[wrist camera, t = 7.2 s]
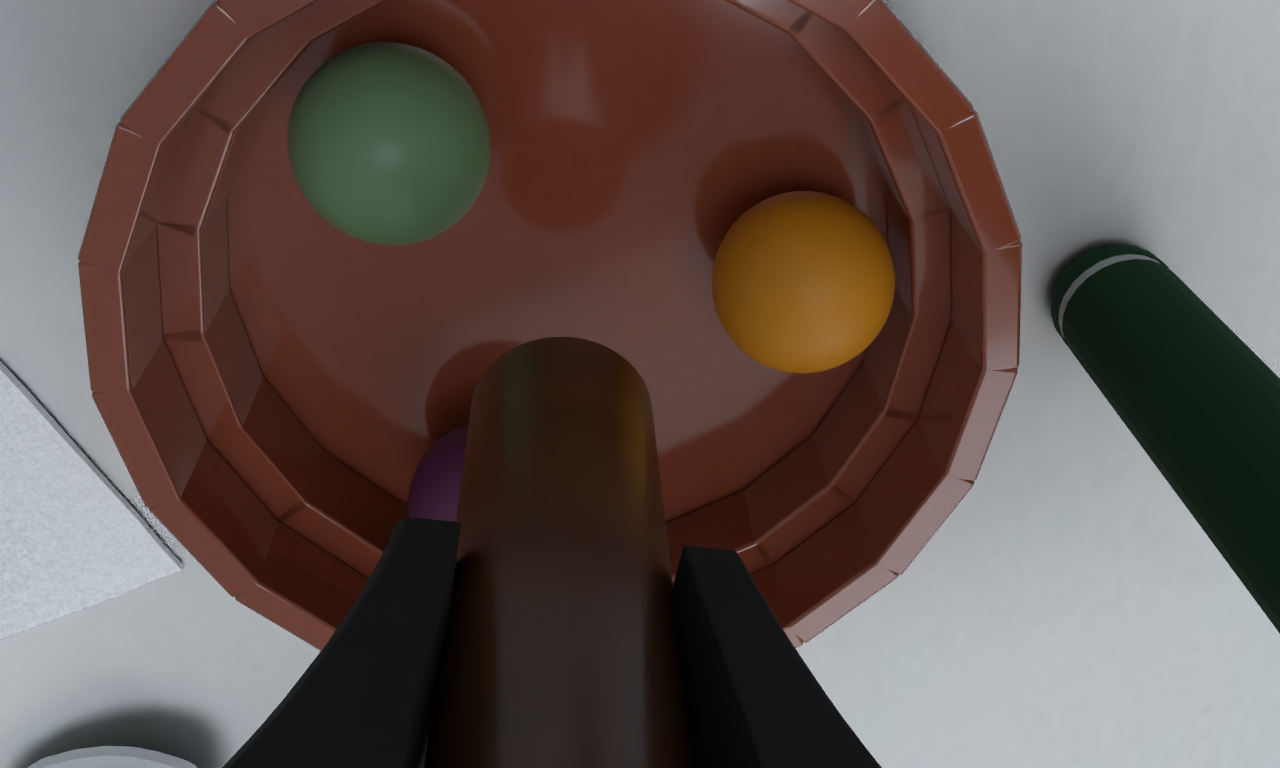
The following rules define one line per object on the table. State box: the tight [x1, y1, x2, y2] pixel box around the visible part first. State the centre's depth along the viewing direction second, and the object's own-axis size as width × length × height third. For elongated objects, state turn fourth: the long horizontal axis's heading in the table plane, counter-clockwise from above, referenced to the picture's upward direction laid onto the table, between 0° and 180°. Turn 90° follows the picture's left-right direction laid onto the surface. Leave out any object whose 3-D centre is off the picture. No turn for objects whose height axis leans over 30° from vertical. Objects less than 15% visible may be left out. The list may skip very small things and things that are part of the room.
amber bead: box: [712, 191, 895, 373], centre depth 19 cm, size 3×3×3 cm
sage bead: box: [288, 42, 491, 245], centre depth 17 cm, size 3×3×3 cm
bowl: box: [78, 0, 1022, 651], centre depth 19 cm, size 14×14×4 cm
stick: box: [424, 337, 694, 768], centre depth 13 cm, size 3×3×9 cm
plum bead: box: [408, 424, 468, 522], centre depth 21 cm, size 3×3×3 cm
